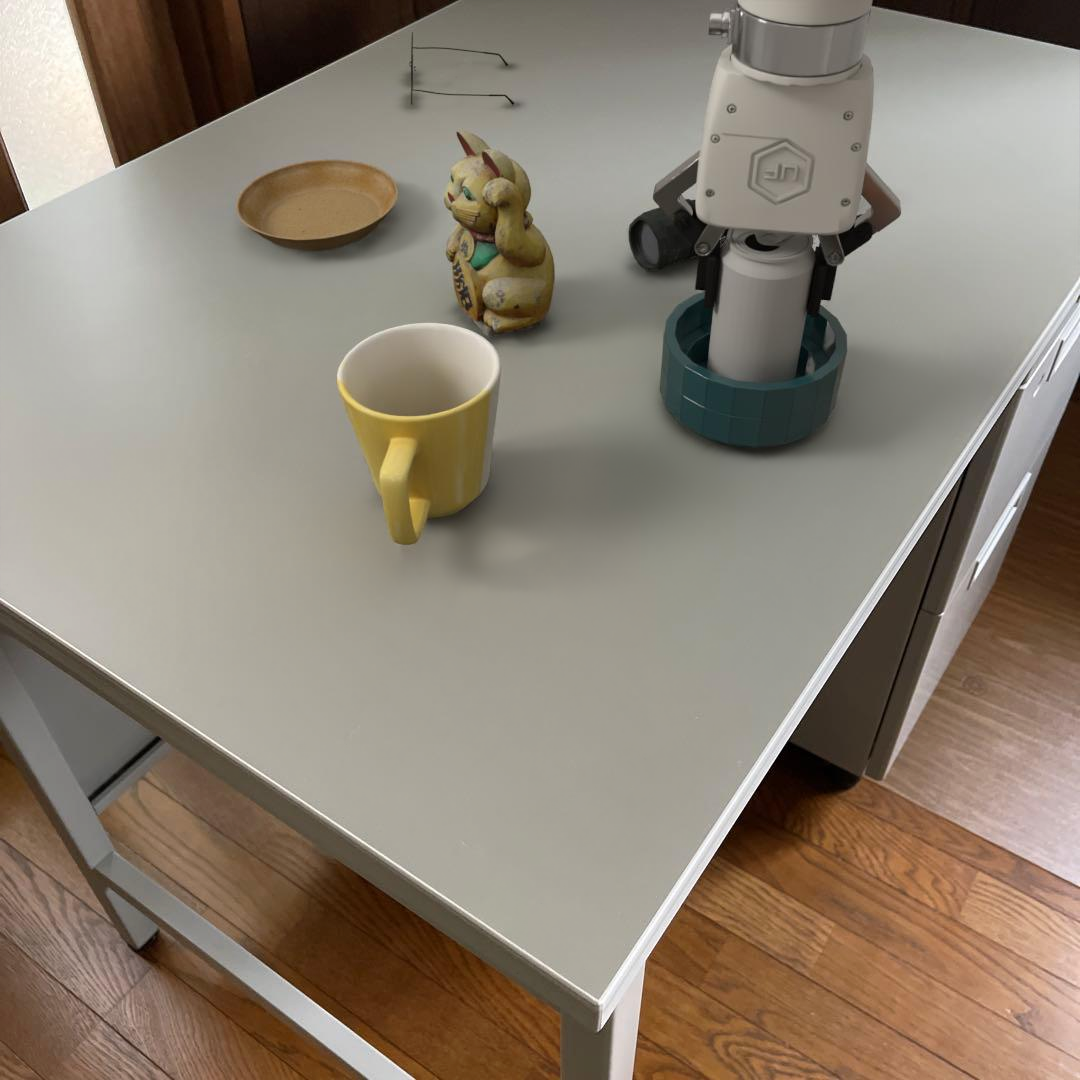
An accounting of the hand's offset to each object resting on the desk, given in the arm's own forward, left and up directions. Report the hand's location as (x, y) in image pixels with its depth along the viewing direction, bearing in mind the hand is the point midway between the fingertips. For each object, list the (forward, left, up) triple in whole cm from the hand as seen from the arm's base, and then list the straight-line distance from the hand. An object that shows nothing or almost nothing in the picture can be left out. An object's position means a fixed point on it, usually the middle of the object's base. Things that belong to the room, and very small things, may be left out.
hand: (761, 300), depth 76 cm
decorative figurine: (+20, -9, -9) cm, 24 cm away
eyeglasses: (+34, -52, -9) cm, 63 cm away
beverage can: (0, 0, -7) cm, 7 cm away
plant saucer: (+40, -21, -9) cm, 46 cm away
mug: (+21, +15, -9) cm, 27 cm away
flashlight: (+2, -24, -9) cm, 26 cm away
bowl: (0, 0, -9) cm, 9 cm away
